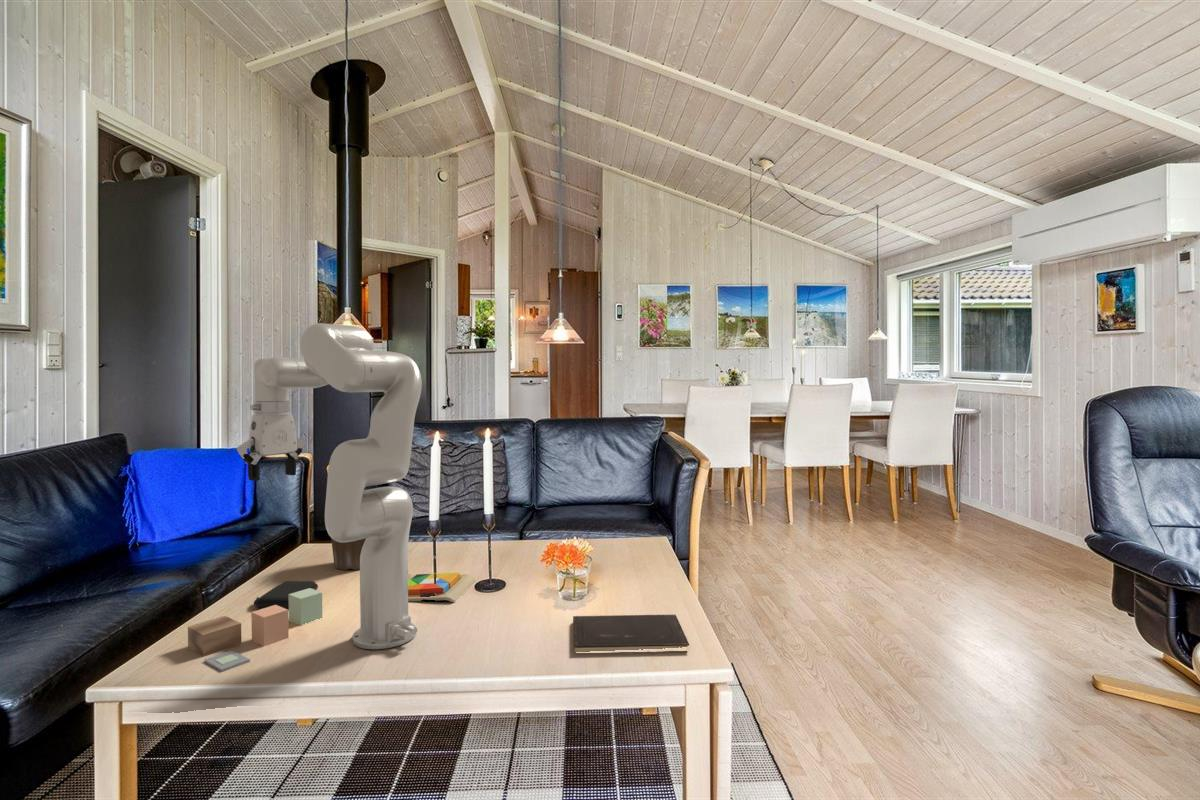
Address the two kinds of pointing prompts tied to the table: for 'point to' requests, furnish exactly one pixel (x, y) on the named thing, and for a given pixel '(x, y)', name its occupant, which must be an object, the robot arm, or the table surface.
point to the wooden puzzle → (438, 586)
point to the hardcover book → (627, 632)
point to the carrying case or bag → (283, 594)
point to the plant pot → (347, 554)
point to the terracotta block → (269, 625)
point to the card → (227, 660)
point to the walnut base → (214, 635)
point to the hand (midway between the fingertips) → (272, 477)
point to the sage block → (305, 606)
